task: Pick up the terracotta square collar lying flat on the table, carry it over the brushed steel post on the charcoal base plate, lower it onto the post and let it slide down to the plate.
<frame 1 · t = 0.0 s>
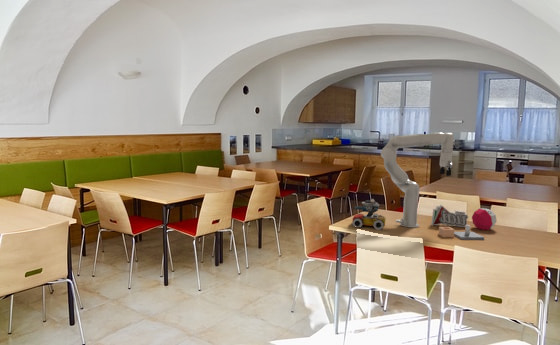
hand: (445, 174, 302), 37 cm above the table, fingers open, 9 cm apart
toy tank: (368, 226, 300), on the table
post stand: (467, 236, 276), on the table
decorative object: (483, 229, 299), on the table
collar: (446, 235, 277), on the table
decorative sign: (449, 226, 306), on the table
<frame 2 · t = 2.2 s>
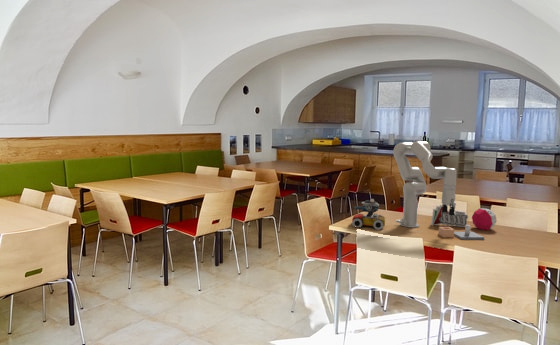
hand: (448, 213, 275), 15 cm above the table, fingers open, 9 cm apart
nothing on the table moved.
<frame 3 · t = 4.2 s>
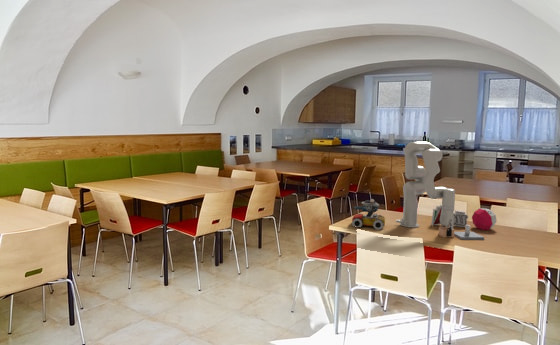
hand: (446, 234, 277), 1 cm above the table, fingers closed on collar, 7 cm apart
collar: (446, 235, 277), on the table, touching gripper
everything else where it was.
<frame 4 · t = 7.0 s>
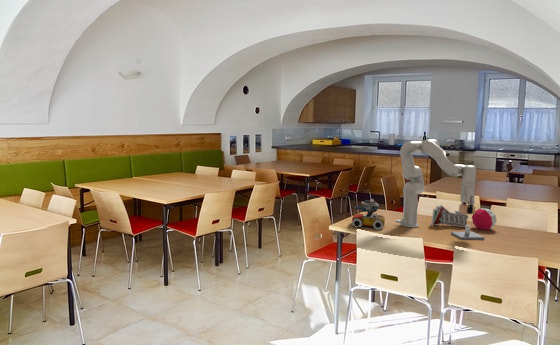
hand: (466, 212, 274), 16 cm above the table, fingers closed on collar, 7 cm apart
collar: (466, 213, 274), point 15 cm above the table, touching gripper
everything else where it was.
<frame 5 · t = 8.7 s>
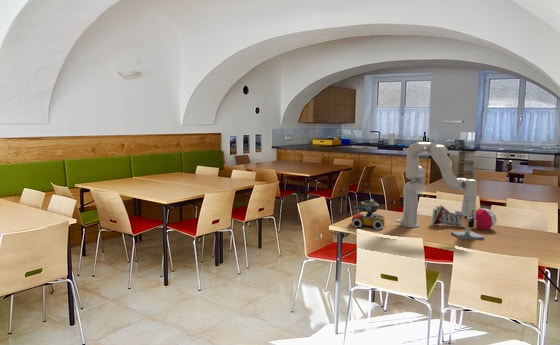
hand: (468, 225, 275), 7 cm above the table, fingers closed on collar, 7 cm apart
collar: (468, 226, 275), point 6 cm above the table, touching gripper
everything else where it was.
when the fingers open (6 cm above the table, at t = 9.9 s): collar drops 4 cm, resting on post stand.
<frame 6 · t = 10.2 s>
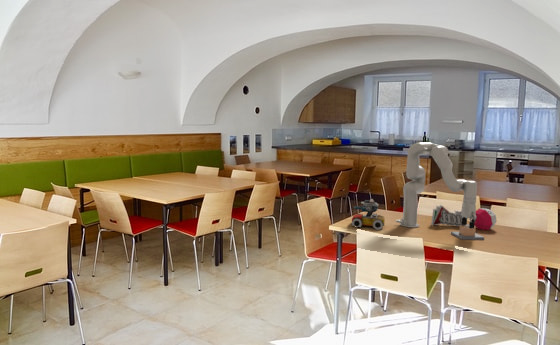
hand: (467, 226, 275), 7 cm above the table, fingers open, 9 cm apart
collar: (467, 234, 276), point 1 cm above the table, touching post stand
everything else where it was.
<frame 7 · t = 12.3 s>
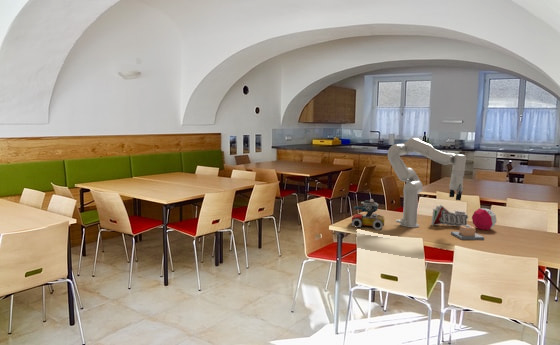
hand: (454, 198, 284), 23 cm above the table, fingers open, 9 cm apart
nothing on the table moved.
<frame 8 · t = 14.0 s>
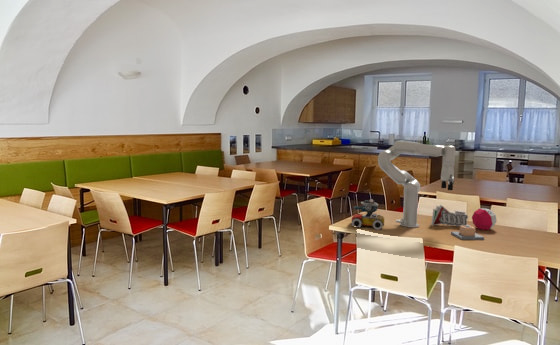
hand: (446, 189, 291), 28 cm above the table, fingers open, 9 cm apart
nothing on the table moved.
at the end: collar 0.1 cm off-centre on the post stand, point 1.5 cm above the post stand's base; collar tilted 0°; the gripper is holding nothing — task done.
